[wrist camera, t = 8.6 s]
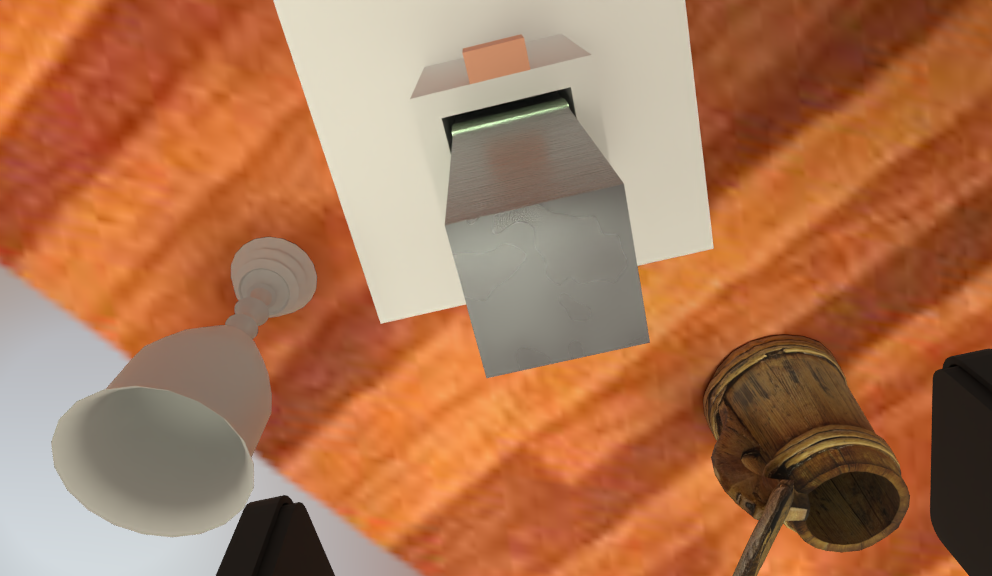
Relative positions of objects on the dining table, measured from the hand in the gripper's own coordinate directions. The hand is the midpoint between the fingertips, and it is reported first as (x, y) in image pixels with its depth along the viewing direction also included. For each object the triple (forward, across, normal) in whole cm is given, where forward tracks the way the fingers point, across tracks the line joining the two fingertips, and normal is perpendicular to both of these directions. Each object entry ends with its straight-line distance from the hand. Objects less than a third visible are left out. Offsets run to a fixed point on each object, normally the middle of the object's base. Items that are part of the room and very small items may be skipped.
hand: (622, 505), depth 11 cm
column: (+24, 0, 0) cm, 24 cm away
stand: (+32, 0, 0) cm, 32 cm away
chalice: (+32, +16, +6) cm, 36 cm away
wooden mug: (+32, -11, +21) cm, 40 cm away
